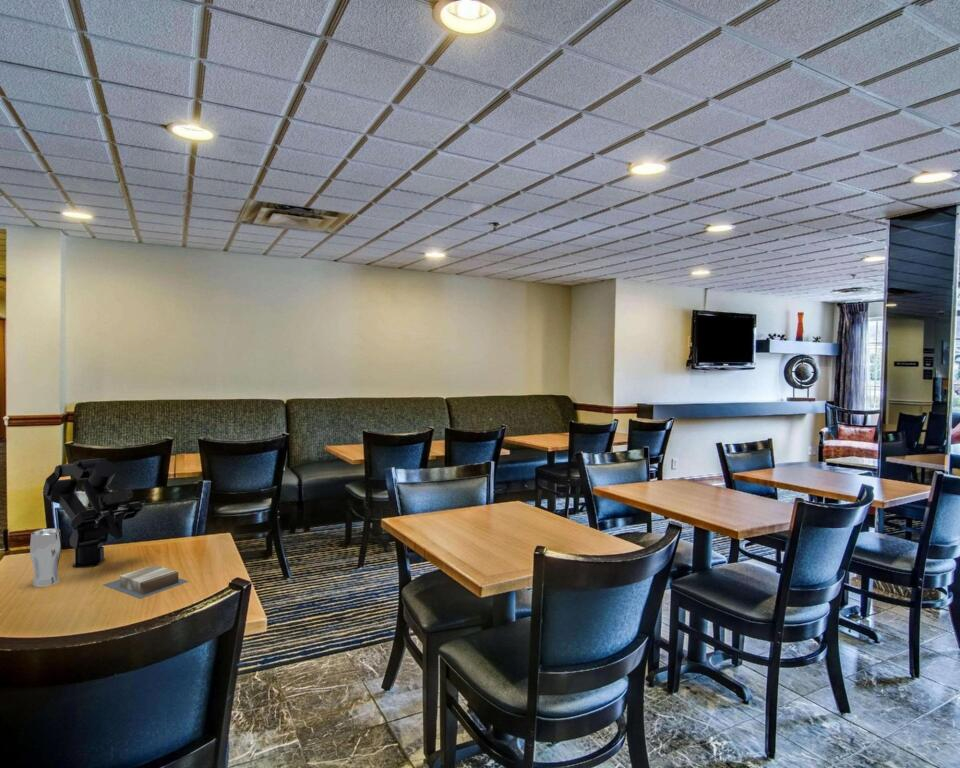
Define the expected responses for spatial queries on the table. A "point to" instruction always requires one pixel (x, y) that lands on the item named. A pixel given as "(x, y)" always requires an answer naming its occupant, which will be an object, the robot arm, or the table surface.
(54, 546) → the beer glass
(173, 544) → the table surface
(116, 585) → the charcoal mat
